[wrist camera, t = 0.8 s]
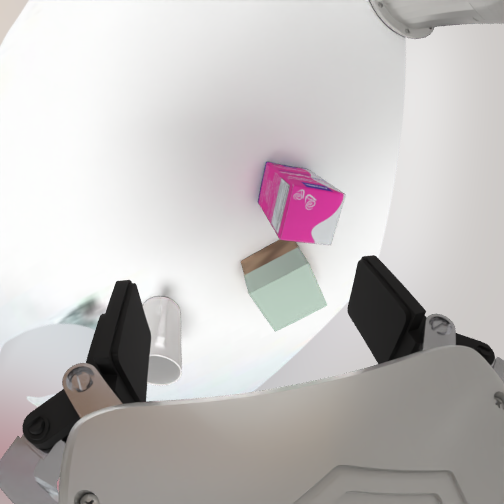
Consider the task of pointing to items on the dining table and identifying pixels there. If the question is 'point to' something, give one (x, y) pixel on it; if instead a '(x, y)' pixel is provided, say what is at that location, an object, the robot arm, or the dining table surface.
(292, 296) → the sage top block
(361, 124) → the dining table surface
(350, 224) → the dining table surface
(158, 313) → the mug
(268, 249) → the walnut base block
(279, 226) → the supplement box
